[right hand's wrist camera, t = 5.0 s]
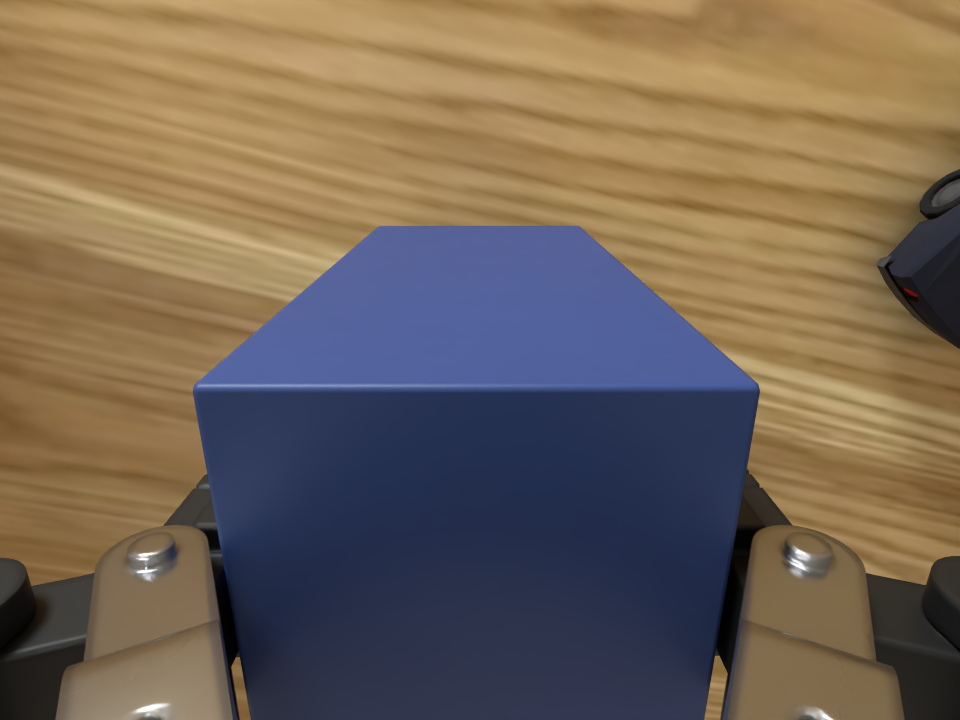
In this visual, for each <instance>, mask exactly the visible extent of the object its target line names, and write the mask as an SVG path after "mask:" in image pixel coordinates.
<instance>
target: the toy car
mask: <svg viewBox="0 0 960 720" xmlns="http://www.w3.org/2000/svg"><path fill="white" fill-rule="evenodd" d="M920 212H921V213H922V214H923V215H924V216H925V217H926V218H928V219H930V220H927V221H923V222H920V223H919V224H918V225H917V226H916V227H915V228H914V229H913V230H912V231H911V232H910V233H909V234H908V235H907V236H906V238H905V239H904V240H903V241H902V242H901V243H900V244H899V245H898V246H897V247H896V248H895V249H894V250H893V251H892V252H891V254H890V255H889V256H888V257H885V258H882V259H880V260H879V262H878V264H877V266H878V268H879V270H880V272H881V274H882V276H883V278H884V281H885V282H886V284H887V285H888V287H889V288H890V289H891V291H892V292H893V293H894V295H895V296H896V298H897V299H898V300H899V301H900V302H901V303H902V304H903V305H904V306H905V308H906V309H907V310H908V311H909V312H910V313H911V314H912V315H913V316H914V317H915V318H916V319H917V320H919V321H920V322H921V323H922V324H924V325H925V326H926V327H927V328H929V329H930V330H931V331H933V332H934V333H935V334H937V335H939V336H940V337H942V338H943V339H945V340H947V341H948V342H950V343H952V344H953V345H954V346H956V347H958V348H959V349H960V169H959V170H957V171H955V172H952V173H950V174H948V175H946V176H945V177H943V178H942V179H941V180H939V181H938V182H936V183H935V184H934V185H933V186H932V187H931V188H930V189H929V190H928V191H927V192H926V193H925V194H924V196H923V198H922V200H921V201H920Z"/></svg>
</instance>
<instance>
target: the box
mask: <svg viewBox="0 0 960 720" xmlns="http://www.w3.org/2000/svg"><path fill="white" fill-rule="evenodd" d="M759 393H760V389H759V385H758V384H757V383H756V382H755V381H754V380H753V379H752V378H751V377H749V376H748V375H747V374H746V373H745V372H744V371H743V370H742V369H740V368H739V367H738V366H737V365H736V364H735V363H734V362H732V361H731V360H730V359H729V358H728V357H727V356H726V355H725V354H723V353H722V352H721V351H720V350H719V349H718V348H717V347H715V346H714V345H713V344H712V343H711V342H710V341H709V340H708V339H706V338H705V337H704V336H703V335H702V334H701V333H700V332H698V331H697V330H696V329H695V328H694V327H693V326H692V325H691V324H689V323H688V322H687V321H686V320H685V319H684V318H683V317H681V316H680V315H679V314H678V313H677V312H676V311H675V310H674V309H672V308H671V307H670V306H669V305H668V304H667V303H666V302H664V301H663V300H662V299H661V298H660V297H659V296H658V295H657V294H655V293H654V292H653V291H652V290H651V289H650V288H649V287H647V286H646V285H645V284H644V283H643V282H642V281H641V280H640V279H638V278H637V277H636V276H635V275H634V274H633V273H632V272H630V271H629V270H628V269H627V268H626V267H625V266H624V265H623V264H621V263H620V262H619V261H618V260H617V259H616V258H615V257H613V256H612V255H611V254H610V253H609V252H608V251H607V250H606V249H604V248H603V247H602V246H601V245H600V244H599V243H598V242H596V241H595V240H594V239H593V238H592V237H591V236H590V235H589V234H587V233H586V232H585V231H584V230H583V229H582V228H581V227H579V226H379V227H378V228H376V229H375V230H374V231H373V232H372V233H371V234H369V235H368V236H367V237H366V238H365V239H364V240H362V241H361V242H360V243H359V244H358V245H357V246H355V247H354V248H353V249H352V250H351V251H350V252H348V253H347V254H346V255H345V256H344V257H343V258H341V259H340V260H339V261H338V262H337V263H336V264H334V265H333V266H332V267H331V268H330V269H329V270H328V271H326V272H325V273H324V274H323V275H322V276H321V277H319V278H318V279H317V280H316V281H315V282H314V283H312V284H311V285H310V286H309V287H308V288H307V289H305V290H304V291H303V292H302V293H301V294H300V295H298V296H297V297H296V298H295V299H294V300H293V301H291V302H290V303H289V304H288V305H287V306H286V307H284V308H283V309H282V310H281V311H280V312H279V313H277V314H276V315H275V316H274V317H273V318H272V319H270V320H269V321H268V322H267V323H266V324H265V325H263V326H262V327H261V328H260V329H259V330H258V331H257V332H255V333H254V334H253V335H252V336H251V337H250V338H248V339H247V340H246V341H245V342H244V343H243V344H241V345H240V346H239V347H238V348H237V349H236V350H234V351H233V352H232V353H231V354H230V355H229V356H227V357H226V358H225V359H224V360H223V361H222V362H220V363H219V364H218V365H217V366H216V367H215V368H213V369H212V370H211V371H210V372H209V373H208V374H206V375H205V376H204V377H203V378H202V379H201V380H199V381H198V382H197V383H196V384H195V385H194V389H193V395H194V400H195V406H196V412H197V417H198V423H199V429H200V434H201V440H202V446H203V451H204V457H205V463H206V468H207V474H208V479H209V485H210V491H211V496H212V502H213V508H214V513H215V519H216V525H217V530H218V536H219V541H220V547H221V553H222V558H223V564H224V570H225V575H226V581H227V587H228V592H229V598H230V604H231V609H232V615H233V620H234V626H235V632H236V637H237V643H238V649H239V654H240V660H241V666H242V671H243V677H244V683H245V688H246V694H247V699H248V705H249V711H250V716H251V720H704V716H705V710H706V705H707V699H708V693H709V687H710V681H711V675H712V669H713V663H714V658H715V652H716V646H717V640H718V634H719V628H720V622H721V616H722V611H723V605H724V599H725V593H726V587H727V581H728V575H729V570H730V564H731V558H732V552H733V546H734V540H735V534H736V528H737V523H738V517H739V511H740V505H741V499H742V493H743V487H744V481H745V476H746V470H747V464H748V458H749V452H750V446H751V440H752V434H753V429H754V423H755V417H756V411H757V405H758V399H759Z"/></svg>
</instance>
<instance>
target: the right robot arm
mask: <svg viewBox="0 0 960 720" xmlns="http://www.w3.org/2000/svg"><path fill="white" fill-rule="evenodd" d="M715 656H720V658H721V660H722V662H723V664H724V666H725V668H726V671H727V673H728V675H727V681H726V686H725V692H724V698H723V705H722V711H721V717H720V720H960V556H950V557H944V558H942V559H939V560H937V561H936V562H934V564H933V566H932V568H931V571H930V574H929V577H928V581H927V584H926V585H921V584H916V583H911V582H906V581H901V580H896V579H891V578H886V577H881V576H877V575H872V574H868V573H866V572H865V568H864V565H863V563H862V561H861V559H860V558H859V557H858V556H857V555H856V553H854V552H853V551H852V550H851V549H850V548H849V547H847V546H846V545H844V544H843V543H841V542H840V541H838V540H836V539H835V538H832V537H830V536H828V535H826V534H824V533H821V532H818V531H815V530H812V529H808V528H804V527H799V526H793V525H792V524H791V523H790V522H789V520H788V519H787V518H786V517H785V515H784V514H783V513H782V512H781V511H780V509H779V508H778V507H777V506H776V504H775V503H774V502H773V501H772V499H771V498H770V497H769V496H768V494H767V493H766V492H765V491H764V489H763V488H760V487H759V483H758V482H757V481H756V480H755V478H754V477H753V476H752V475H751V474H749V471H748V470H746V476H745V481H744V487H743V493H742V499H741V505H740V511H739V517H738V523H737V528H736V534H735V540H734V546H733V552H732V558H731V564H730V570H729V575H728V581H727V587H726V593H725V599H724V605H723V611H722V616H721V622H720V628H719V634H718V640H717V646H716V652H715ZM236 657H240V654H239V649H238V643H237V637H236V632H235V626H234V620H233V615H232V609H231V604H230V598H229V592H228V587H227V581H226V575H225V570H224V564H223V558H222V553H221V547H220V541H219V536H218V530H217V525H216V519H215V513H214V508H213V502H212V496H211V491H210V485H209V479H208V474H207V475H205V476H204V477H203V478H202V479H201V480H200V482H199V483H198V484H197V488H196V489H193V490H192V491H191V493H190V494H189V495H188V496H187V498H186V499H185V500H184V501H183V502H182V504H181V505H180V506H179V507H178V509H177V510H176V511H175V512H174V514H173V515H172V516H171V517H170V518H169V520H168V521H167V522H166V523H165V525H164V526H161V527H156V528H152V529H148V530H145V531H142V532H139V533H136V534H134V535H132V536H130V537H128V538H125V539H124V540H122V541H120V542H119V543H117V544H116V545H114V546H113V547H111V548H110V549H109V550H108V551H107V552H106V553H104V555H103V556H102V557H101V558H100V559H99V561H98V563H97V565H96V568H95V572H94V573H92V574H88V575H84V576H80V577H75V578H70V579H65V580H60V581H55V582H50V583H45V584H40V585H35V586H31V584H30V580H29V577H28V574H27V571H26V568H25V566H24V565H23V564H22V563H21V562H19V561H17V560H14V559H8V558H0V720H240V717H239V711H238V704H237V698H236V692H235V686H234V680H233V675H232V670H231V666H232V664H233V662H234V660H235V658H236Z"/></svg>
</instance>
